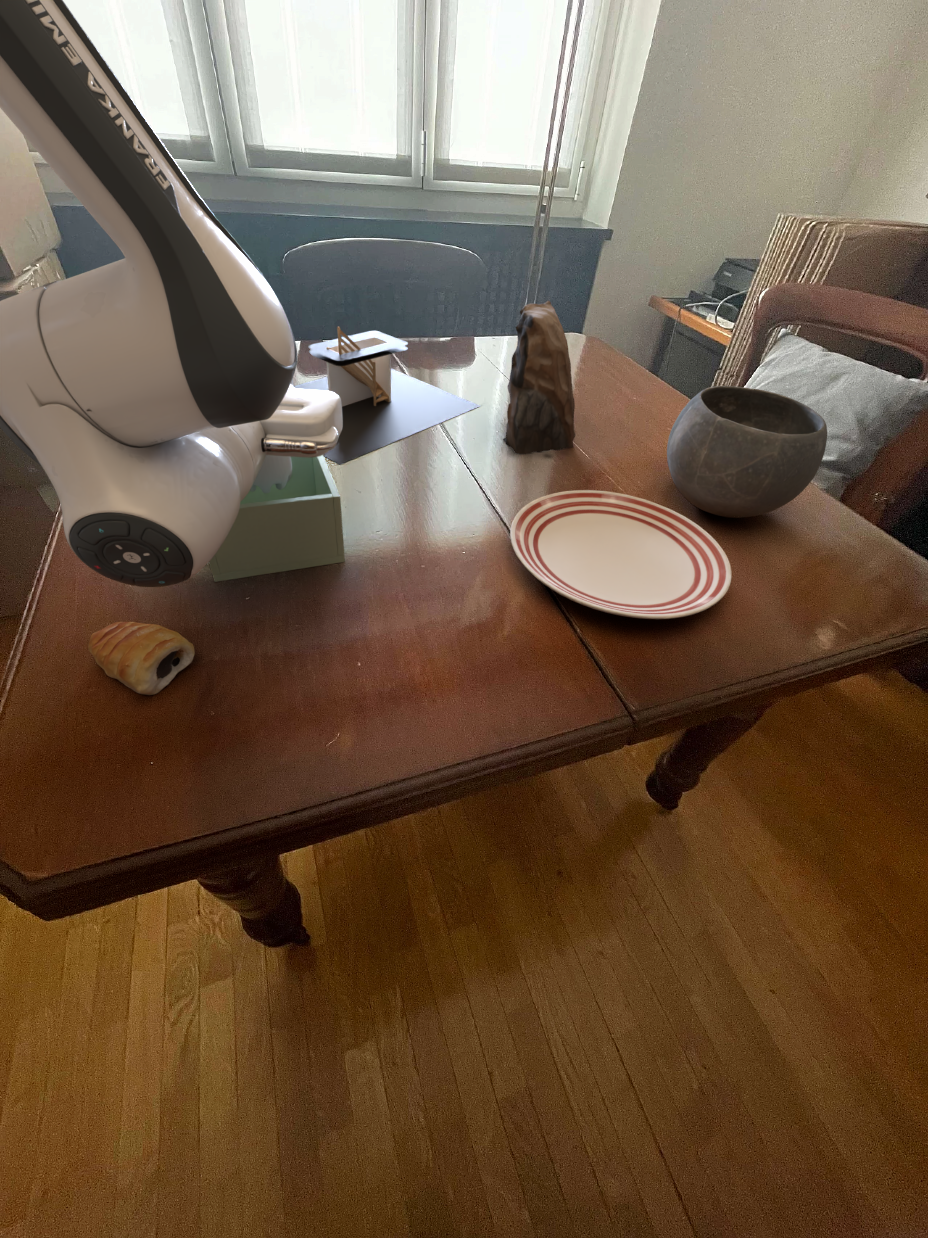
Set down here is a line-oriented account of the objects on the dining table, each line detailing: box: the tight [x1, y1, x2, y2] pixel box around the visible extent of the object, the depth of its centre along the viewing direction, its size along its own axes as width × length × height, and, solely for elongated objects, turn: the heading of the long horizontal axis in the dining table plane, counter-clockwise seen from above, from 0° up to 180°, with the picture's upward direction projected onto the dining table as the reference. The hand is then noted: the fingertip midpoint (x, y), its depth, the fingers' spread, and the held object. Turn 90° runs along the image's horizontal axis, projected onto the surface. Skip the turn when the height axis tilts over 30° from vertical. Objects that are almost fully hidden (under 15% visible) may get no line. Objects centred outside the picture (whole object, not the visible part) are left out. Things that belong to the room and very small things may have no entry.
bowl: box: [666, 385, 828, 519], centre depth 79 cm, size 20×20×15 cm
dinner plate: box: [509, 489, 732, 620], centre depth 69 cm, size 27×27×3 cm
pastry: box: [87, 621, 196, 696], centre depth 51 cm, size 9×7×4 cm
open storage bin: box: [208, 455, 346, 583], centre depth 65 cm, size 15×15×9 cm
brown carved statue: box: [502, 300, 576, 455], centre depth 89 cm, size 13×13×20 cm
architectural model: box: [294, 326, 481, 465], centre depth 94 cm, size 35×28×14 cm
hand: (249, 383), depth 56 cm, fingers closed on bottle, 6 cm apart
